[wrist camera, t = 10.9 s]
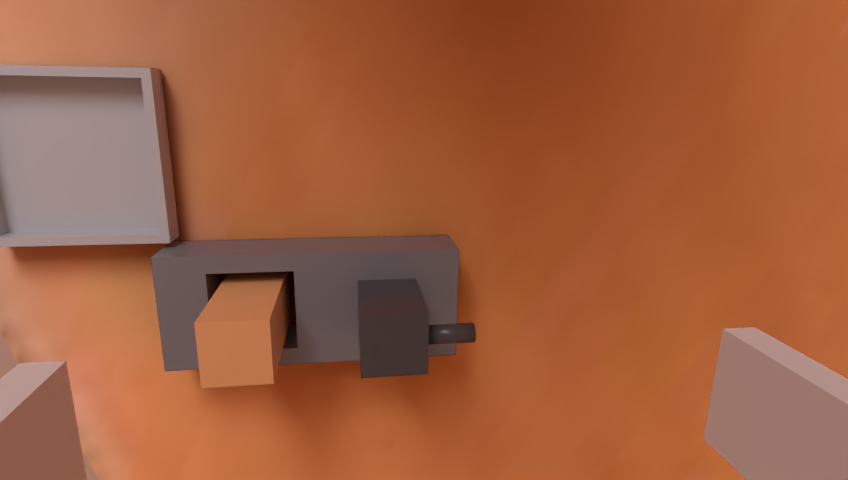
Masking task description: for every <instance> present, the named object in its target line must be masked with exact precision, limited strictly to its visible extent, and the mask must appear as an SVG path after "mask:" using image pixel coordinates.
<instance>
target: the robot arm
mask: <svg viewBox="0 0 848 480" xmlns="http://www.w3.org/2000/svg"><path fill="white" fill-rule="evenodd" d="M703 439H704V440H705V441H706V442H707V443H708V444H709V445H710V446H711V447H712V448H713V449H715V450H716V451H717V452H718V453H719V454H720V455H721V456H722V457H723V458H724V459H725V460H726V461H727V462H728V463H729V464H730V465H731V466H732V467H734V468H735V469H736V470H737V471H738V472H739V473H740V474H741V475H742V476H743V477H744V478H745V479H746V480H848V379H847V378H845V377H843V376H842V375H840V374H838V373H836V372H834V371H833V370H831V369H829V368H827V367H825V366H824V365H822V364H820V363H818V362H816V361H815V360H813V359H811V358H809V357H807V356H806V355H804V354H802V353H800V352H798V351H797V350H795V349H793V348H791V347H789V346H788V345H786V344H784V343H782V342H780V341H779V340H777V339H775V338H773V337H771V336H770V335H768V334H766V333H764V332H762V331H761V330H759V329H757V328H755V327H749V328H728V329H723V332H722V337H721V343H720V349H719V354H718V360H717V365H716V371H715V377H714V382H713V388H712V393H711V399H710V404H709V410H708V416H707V421H706V427H705V432H704V438H703ZM0 480H87V478H86V473H85V467H84V461H83V456H82V450H81V444H80V438H79V433H78V427H77V421H76V416H75V410H74V404H73V398H72V393H71V387H70V381H69V376H68V370H67V364H66V361H57V362H36V363H19V364H18V365H17V366H16V367H14V368H13V369H12V370H11V371H9V372H8V373H7V374H6V375H5V376H3V377H2V378H1V379H0Z"/></svg>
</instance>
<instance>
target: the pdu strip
mask: <svg viewBox="0 0 848 480" xmlns="http://www.w3.org/2000/svg"><path fill="white" fill-rule="evenodd" d="M151 264H152V271H153V279H154V287H155V295H156V303H157V311H158V319H159V327H160V335H161V343H162V351H163V359H164V367H165V371H179V370H197V369H199V364H198V354H197V345H196V336H195V326H194V322H195V321H196V319H197V318H198V317H199V315H200V314H201V312H202V311H203V309H204V308H205V306H206V305H207V303H208V302H209V300H210V299H211V297H212V296H213V294H214V293H215V292H216V290H217V289H218V287H219V286H220V284H221V283H222V278H221V273H254V272H286V271H294V286H295V306H296V325H289V326H288V330H287V334H286V338H285V342H284V346H283V350H282V354H281V357H280V361H279V365H286V364H304V363H322V362H340V361H358V360H360V368H361V378H371V377H387V376H404V375H420V374H428V357H430V356H447V355H456V343H470V342H475V338H476V332H475V326H474V323H457V302H458V272H459V249H458V247H457V246H456V245H455V243H454V242H453V241H452V239H451V238H450V237H449V235H436V236H391V237H347V238H302V239H257V240H212V241H172V242H171V243H168V244H167V245H166V246H165V247H163V248H162V249H161V250H160V251H158V252H157V253H156V254H155V255H153V256H152V257H151Z"/></svg>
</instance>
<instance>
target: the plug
mask: <svg viewBox="0 0 848 480" xmlns="http://www.w3.org/2000/svg"><path fill="white" fill-rule="evenodd" d="M290 318H291V305H290V287H289V271H286V272H254V273H228V274H227V275H226V277H225V278H224V280H223V281H222V283H221V284H220V286H219V287H218V289H217V290H216V292H215V293H214V294H213V296H212V297H211V299H210V300H209V302H208V303H207V305H206V306H205V308H204V309H203V311H202V312H201V314H200V315H199V317H198V318H197V319H196V321H195V322H194V326H195V336H196V345H197V354H198V364H199V373H200V383H201V388H214V387H231V386H247V385H264V384H274V381H275V377H276V373H277V369H278V365H279V361H280V357H281V354H282V350H283V346H284V342H285V338H286V334H287V330H288V326H289V322H290Z"/></svg>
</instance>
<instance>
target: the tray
mask: <svg viewBox="0 0 848 480" xmlns="http://www.w3.org/2000/svg"><path fill="white" fill-rule="evenodd" d="M178 236H179V229H178V220H177V211H176V202H175V193H174V183H173V174H172V165H171V156H170V147H169V138H168V129H167V119H166V110H165V101H164V92H163V83H162V74H161V70H160V69H154V68H132V67H88V66H43V65H0V247H24V246H68V245H111V244H155V243H171V242H172V241H173V240H175V239H176V238H177V237H178Z"/></svg>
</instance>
